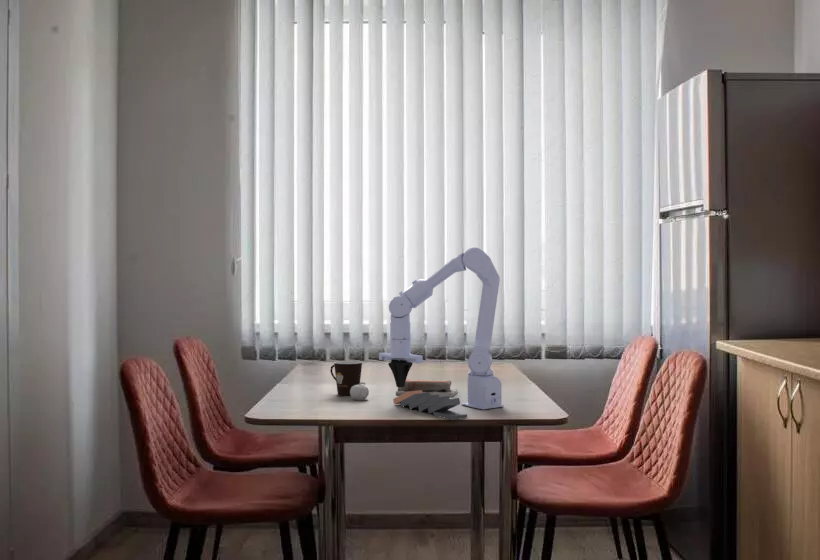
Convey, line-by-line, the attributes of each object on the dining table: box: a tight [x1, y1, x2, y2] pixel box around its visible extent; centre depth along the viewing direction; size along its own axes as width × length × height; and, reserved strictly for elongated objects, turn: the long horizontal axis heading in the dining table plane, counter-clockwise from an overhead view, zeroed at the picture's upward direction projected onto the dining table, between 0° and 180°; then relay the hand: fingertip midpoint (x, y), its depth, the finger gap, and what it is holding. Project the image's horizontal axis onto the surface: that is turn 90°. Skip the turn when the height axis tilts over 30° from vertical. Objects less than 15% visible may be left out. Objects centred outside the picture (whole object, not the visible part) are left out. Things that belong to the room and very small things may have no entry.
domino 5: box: [428, 397, 461, 414], centre depth 192 cm, size 2×5×8 cm
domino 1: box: [392, 390, 422, 405], centre depth 206 cm, size 2×5×8 cm
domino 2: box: [400, 393, 430, 408], centre depth 203 cm, size 2×5×8 cm
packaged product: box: [395, 378, 458, 398], centre depth 228 cm, size 18×5×10 cm
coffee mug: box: [330, 360, 363, 397], centre depth 227 cm, size 12×9×10 cm
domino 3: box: [408, 395, 439, 410], centre depth 199 cm, size 2×5×8 cm
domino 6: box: [433, 409, 468, 421], centre depth 190 cm, size 2×5×8 cm
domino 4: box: [418, 396, 450, 412], centre depth 196 cm, size 2×5×8 cm
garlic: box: [350, 381, 370, 401], centre depth 217 cm, size 6×5×5 cm
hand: (400, 386), depth 209 cm, fingers closed
